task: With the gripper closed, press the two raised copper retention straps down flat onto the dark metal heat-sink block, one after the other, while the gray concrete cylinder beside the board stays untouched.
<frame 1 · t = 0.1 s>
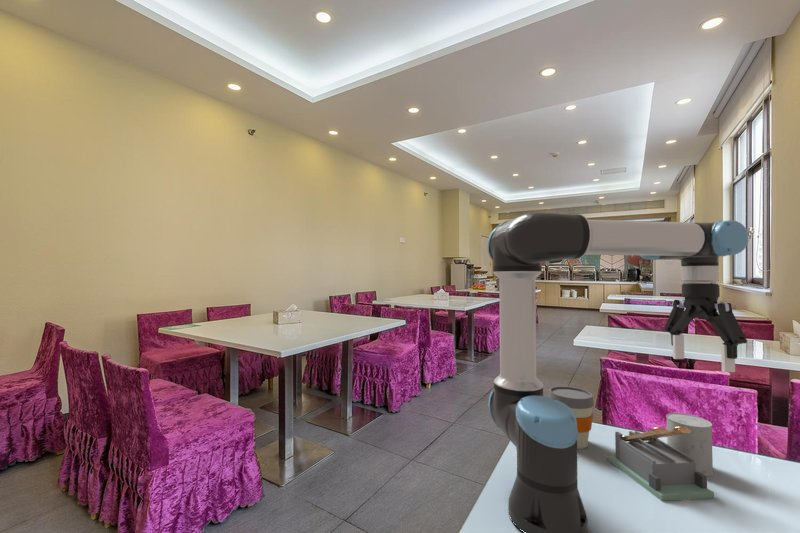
hand: (701, 364, 91), 28 cm above the table, fingers open, 13 cm apart
strap a: (662, 434, 90), point 10 cm above the table, hinge at 30.0°
gray concrete cylinder: (689, 467, 94), on the table
strap b: (642, 434, 90), point 10 cm above the table, hinge at 30.0°
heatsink: (655, 476, 89), on the table
reusable coffee cup: (570, 442, 108), on the table
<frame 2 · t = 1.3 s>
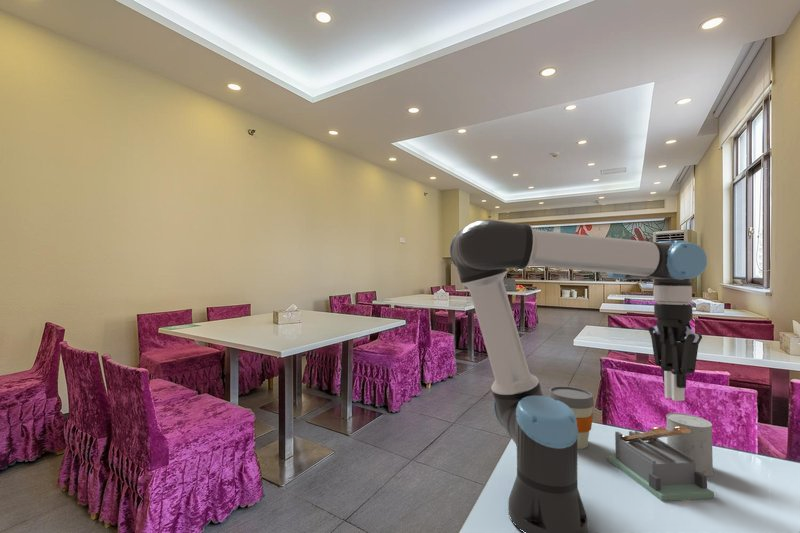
hand: (674, 398, 87), 20 cm above the table, fingers closed
nothing on the table moved.
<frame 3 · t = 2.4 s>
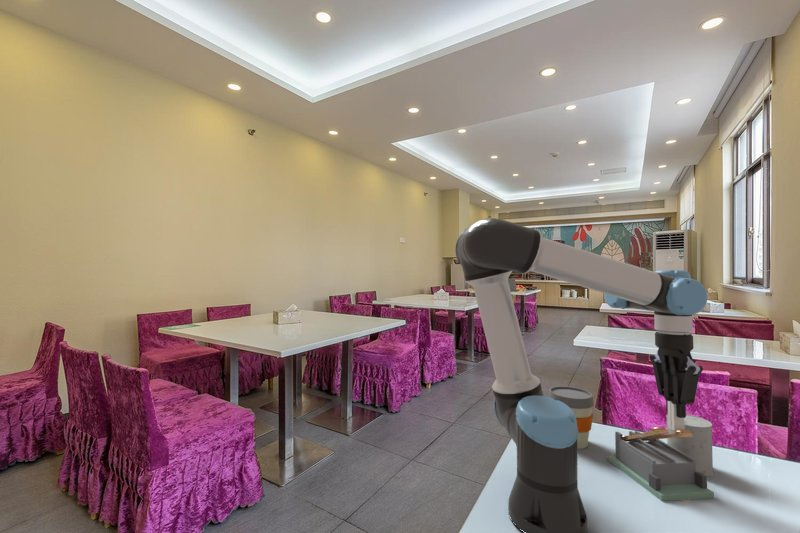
hand: (676, 428, 86), 13 cm above the table, fingers closed
strap a: (663, 436, 90), point 10 cm above the table, hinge at 26.5°, touching gripper
everything else where it was.
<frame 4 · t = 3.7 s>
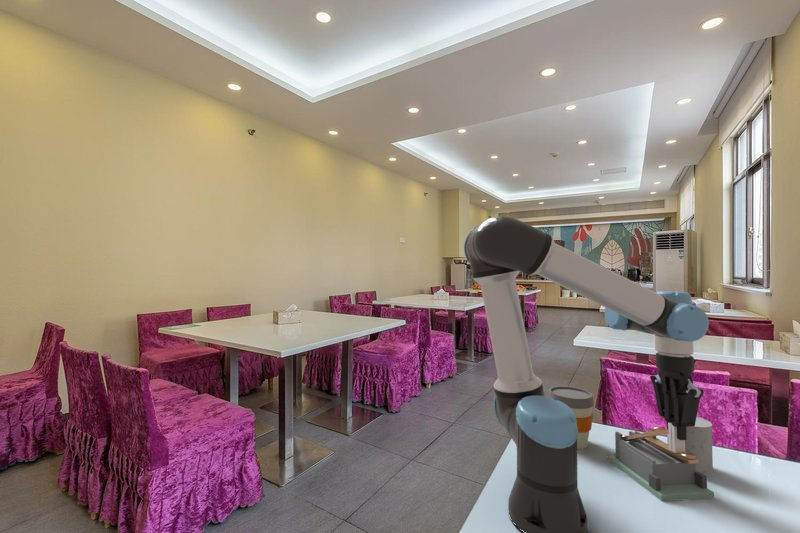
hand: (676, 450, 86), 8 cm above the table, fingers closed
strap a: (666, 447, 89), point 7 cm above the table, hinge at 4.0°, touching gripper
everything else where it was.
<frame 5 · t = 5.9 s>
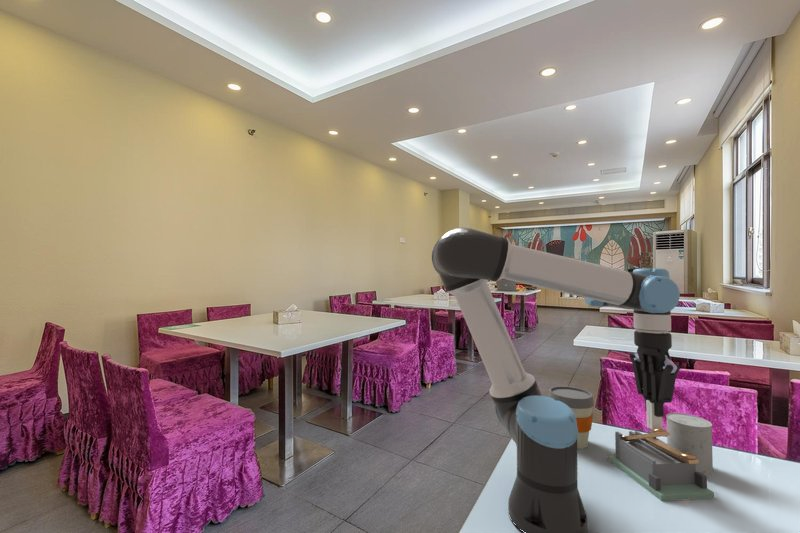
hand: (654, 427, 86), 14 cm above the table, fingers closed
strap a: (666, 447, 89), point 7 cm above the table, hinge at 3.9°
strap b: (642, 435, 89), point 10 cm above the table, hinge at 28.4°, touching gripper
everything else where it was.
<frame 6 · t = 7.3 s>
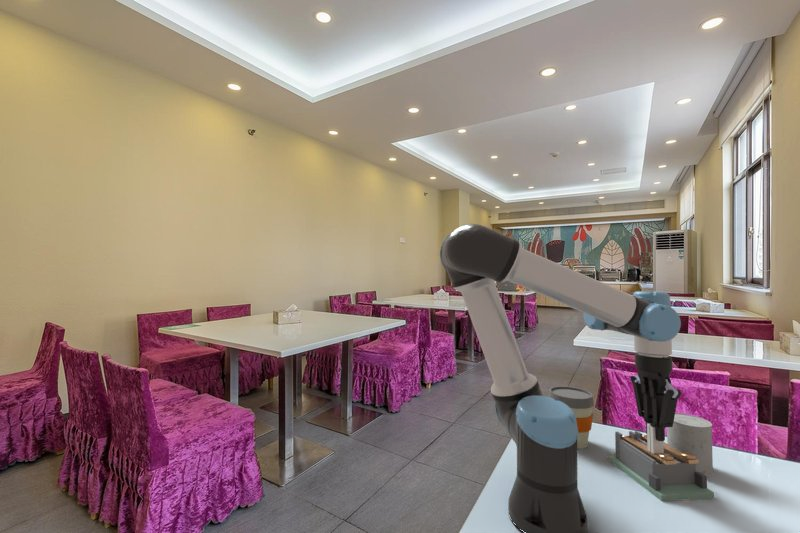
hand: (655, 451, 86), 8 cm above the table, fingers closed
strap b: (645, 448, 88), point 7 cm above the table, hinge at 3.9°, touching gripper
everything else where it was.
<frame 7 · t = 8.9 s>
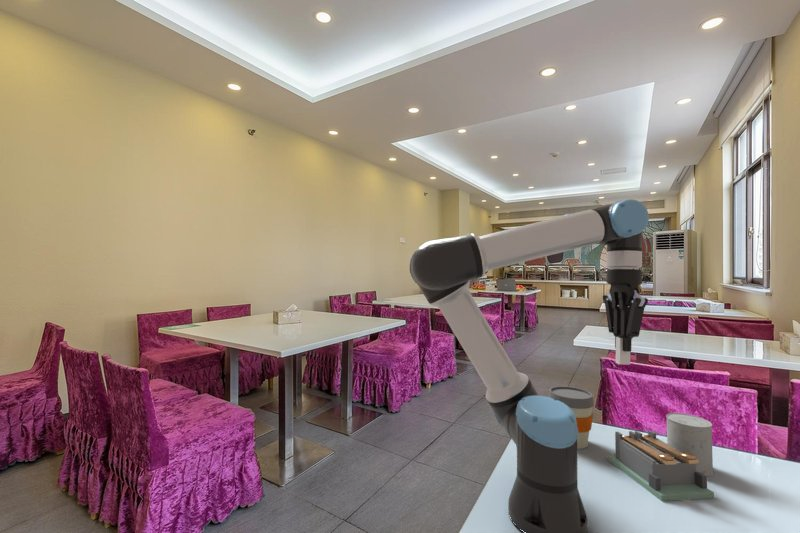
hand: (622, 363, 87), 29 cm above the table, fingers closed
strap b: (645, 448, 88), point 7 cm above the table, hinge at 3.9°
everything else where it was.
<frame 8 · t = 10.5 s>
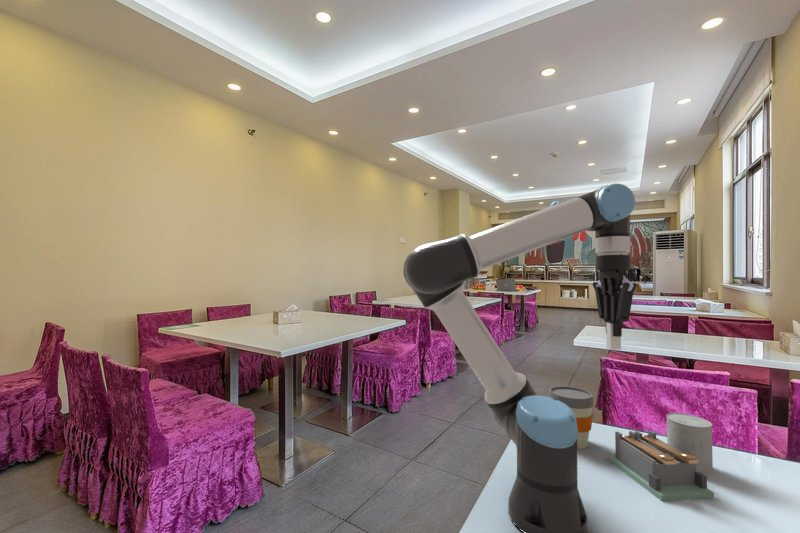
hand: (613, 348, 88), 32 cm above the table, fingers closed
nothing on the table moved.
at the end: strap a at +4° (first picture: +30°); strap b at +4° (first picture: +30°) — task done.
